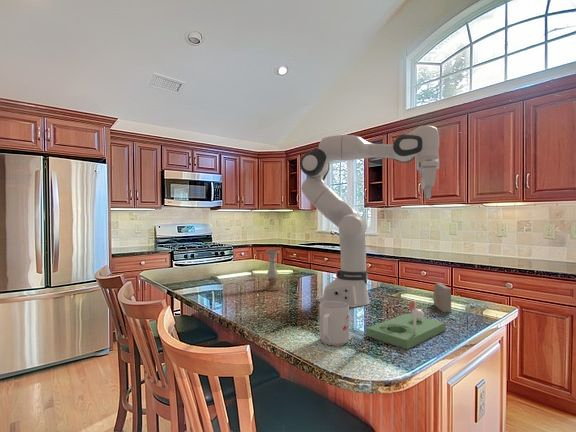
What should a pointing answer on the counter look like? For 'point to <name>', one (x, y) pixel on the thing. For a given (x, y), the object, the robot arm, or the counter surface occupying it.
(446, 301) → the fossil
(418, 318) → the ball
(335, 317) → the mug
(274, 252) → the candle holder
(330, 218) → the robot arm
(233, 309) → the counter surface
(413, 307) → the green
